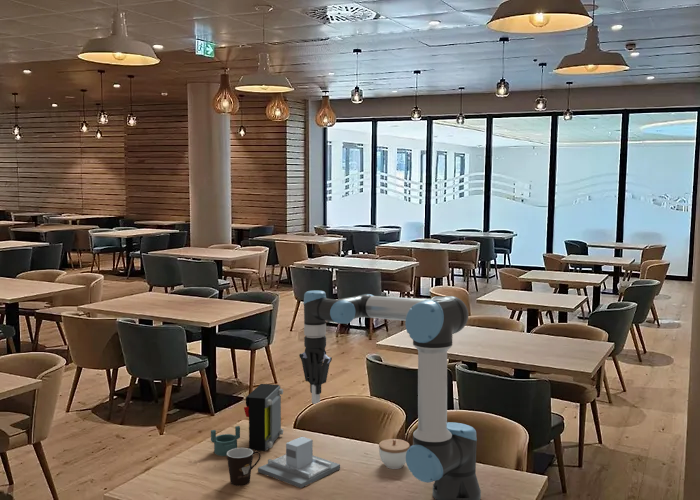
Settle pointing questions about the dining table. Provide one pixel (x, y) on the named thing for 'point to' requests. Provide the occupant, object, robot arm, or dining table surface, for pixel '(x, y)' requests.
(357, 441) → the dining table surface
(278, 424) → the electrical component
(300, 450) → the block
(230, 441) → the bracket
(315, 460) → the din rail
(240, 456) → the coffee mug
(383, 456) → the lidded jar
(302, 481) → the mounting board
